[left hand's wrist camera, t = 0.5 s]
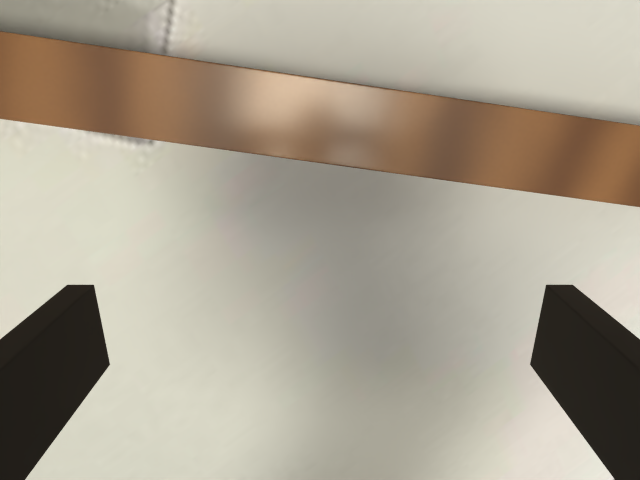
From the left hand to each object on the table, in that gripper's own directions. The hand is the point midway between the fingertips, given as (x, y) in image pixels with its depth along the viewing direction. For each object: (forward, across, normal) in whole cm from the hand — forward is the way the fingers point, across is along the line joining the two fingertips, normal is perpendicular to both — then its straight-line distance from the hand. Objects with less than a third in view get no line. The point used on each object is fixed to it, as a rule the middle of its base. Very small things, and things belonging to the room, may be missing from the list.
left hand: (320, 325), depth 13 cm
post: (+26, +7, -5) cm, 28 cm away
